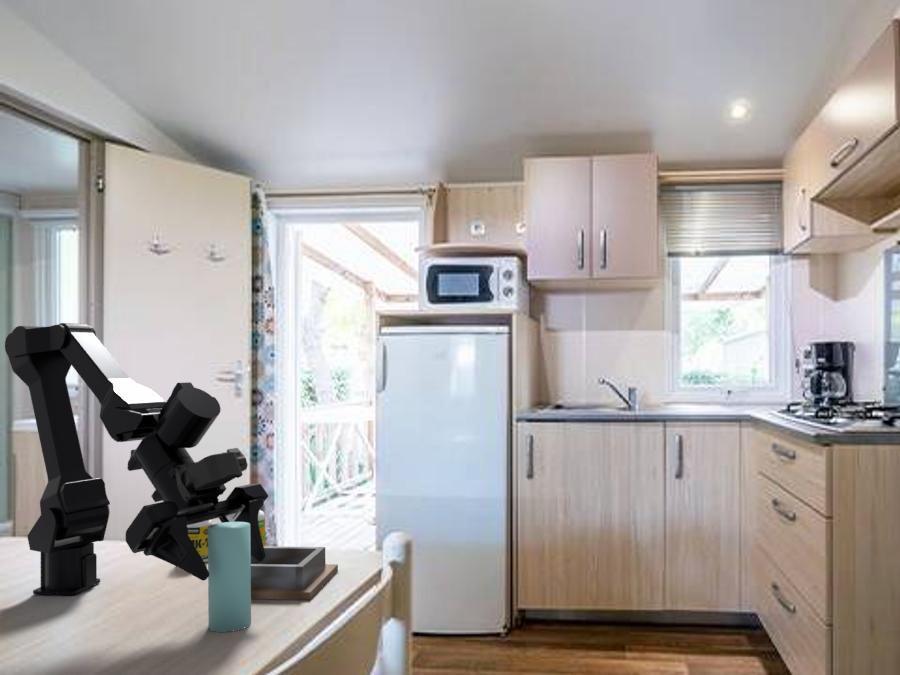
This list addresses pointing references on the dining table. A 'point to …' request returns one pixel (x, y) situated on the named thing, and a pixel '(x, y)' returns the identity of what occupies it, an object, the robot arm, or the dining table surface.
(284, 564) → the brown and grey tray
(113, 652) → the dining table surface
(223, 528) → the post
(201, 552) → the supplement bottle
